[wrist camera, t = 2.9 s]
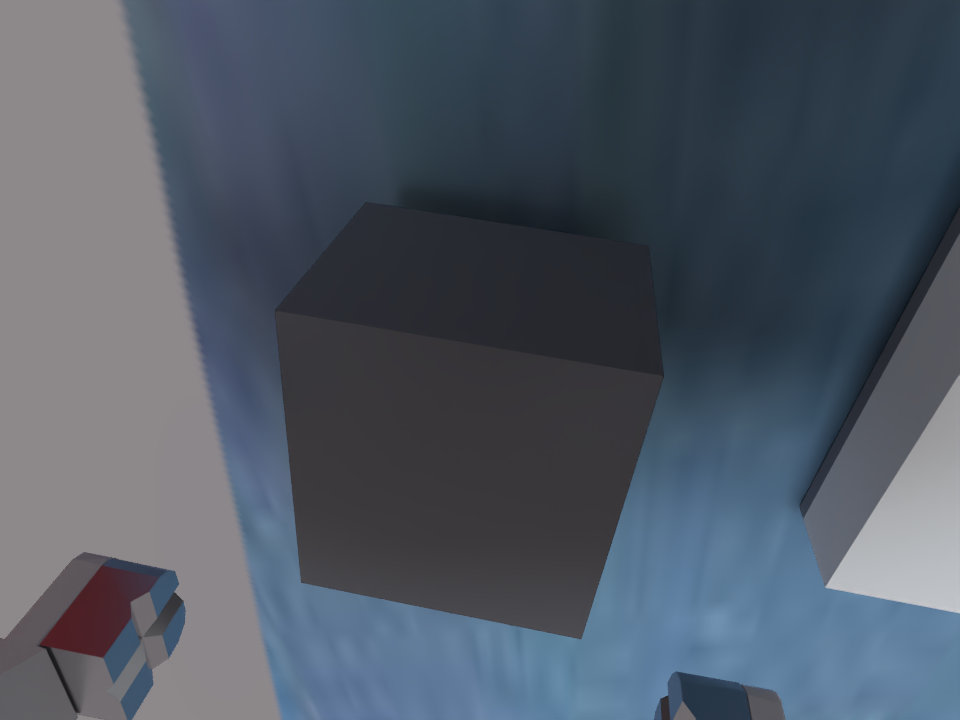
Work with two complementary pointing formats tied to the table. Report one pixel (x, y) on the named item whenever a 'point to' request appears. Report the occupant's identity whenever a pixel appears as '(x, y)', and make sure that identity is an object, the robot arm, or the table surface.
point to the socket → (900, 459)
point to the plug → (467, 412)
